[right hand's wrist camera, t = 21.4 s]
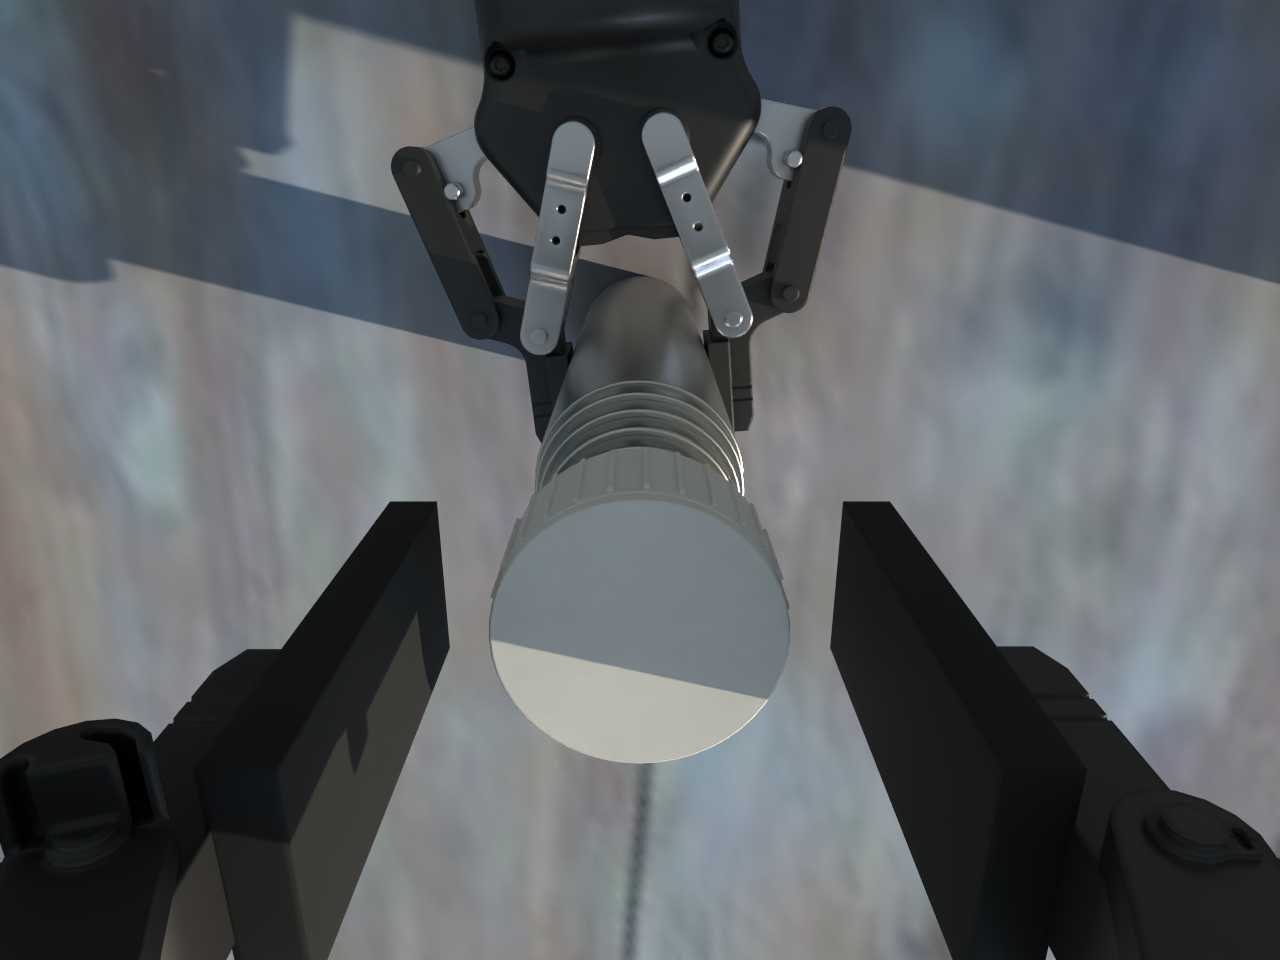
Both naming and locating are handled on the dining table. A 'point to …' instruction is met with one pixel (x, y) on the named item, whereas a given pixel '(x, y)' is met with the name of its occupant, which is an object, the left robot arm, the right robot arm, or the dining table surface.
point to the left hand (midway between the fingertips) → (647, 446)
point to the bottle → (639, 386)
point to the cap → (639, 608)
